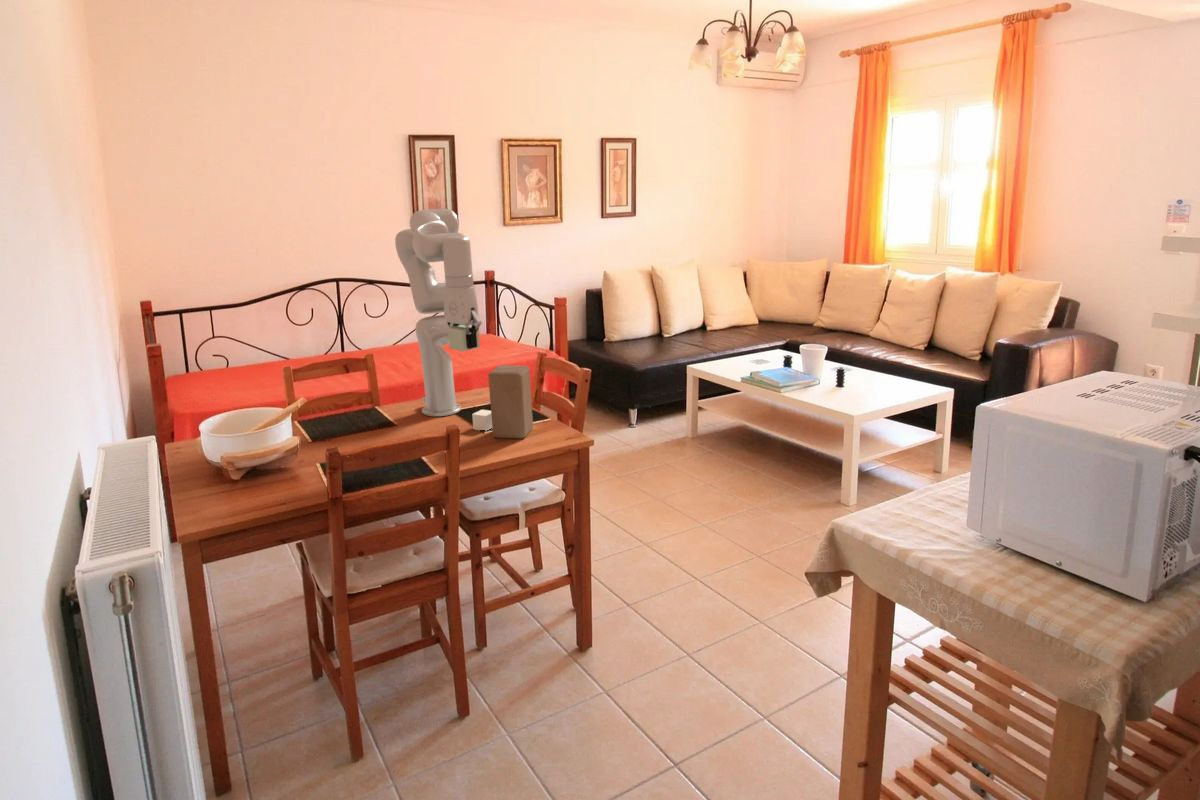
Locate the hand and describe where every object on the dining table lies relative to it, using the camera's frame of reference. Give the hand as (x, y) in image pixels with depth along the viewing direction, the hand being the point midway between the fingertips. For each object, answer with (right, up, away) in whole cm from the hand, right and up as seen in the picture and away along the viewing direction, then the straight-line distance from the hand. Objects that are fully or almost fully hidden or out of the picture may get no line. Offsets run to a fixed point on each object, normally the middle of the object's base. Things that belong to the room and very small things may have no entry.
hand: (464, 345), depth 212 cm
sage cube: (0, -1, 0) cm, 1 cm away
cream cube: (+3, -24, +20) cm, 31 cm away
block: (+12, -26, +14) cm, 32 cm away
